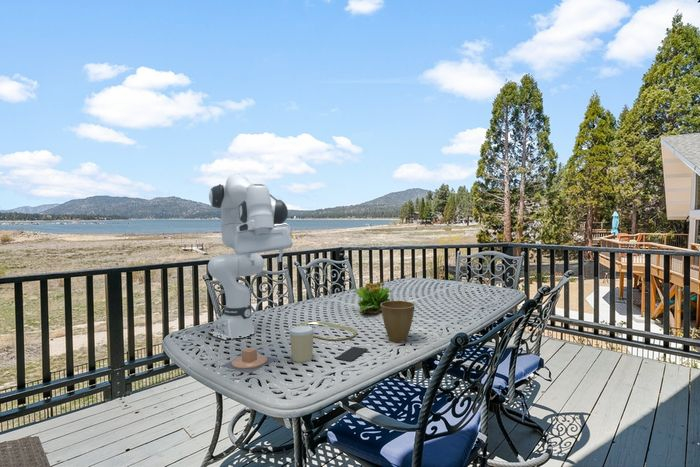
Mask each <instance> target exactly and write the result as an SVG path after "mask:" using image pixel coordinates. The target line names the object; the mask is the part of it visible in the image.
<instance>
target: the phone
mask: <svg viewBox="0 0 700 467" xmlns="http://www.w3.org/2000/svg"><path fill="white" fill-rule="evenodd" d="M368 351H369V349H368V348H367V347H358V346H351V347H350V348H349V349H347V350H345V351H344V352H342V353H341V354H339V355H337V356H336V357H335V359H336V360H337V361H342V362H348V363H353V362H354V361H356V360H357V359H359V357H361V356H363V355H364V354H365V353H366V352H368Z"/></svg>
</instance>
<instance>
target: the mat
mask: <svg viewBox="0 0 700 467" xmlns="http://www.w3.org/2000/svg"><path fill="white" fill-rule="evenodd" d="M265 356H266V355H265ZM266 357H267V362H266V363H265V364H264V365H262V366H259V367H256V368H251V369H237V368H234V367H233V366H232V361H233V360H231V361H228V362H226V363H224V364H222V365H220V367H223V368H226V369H231V370H234V371H239V372H244V373H247V374H251V373H253V372H255V371H257V370H259V369H261V368H263V367H266V366H267V365H269V364H271V363H273V362H274V361H275V362H276V360H278V358H276V357H271V356H266Z"/></svg>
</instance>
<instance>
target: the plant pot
mask: <svg viewBox="0 0 700 467" xmlns="http://www.w3.org/2000/svg"><path fill="white" fill-rule="evenodd" d="M415 307H416V306H415V303H413V302H411V301H405V300H394V301H391V300H390V301H387V302H383V303H381V311H380V312H381V315H382V319H383V324H384V328H385V330H386V335H387V338H388V339H389V341H390V342H392V343H403V342H406V341H407V339H408V337H409V334H410V330H411V327H412V323H413V319H414V312H415Z"/></svg>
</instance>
